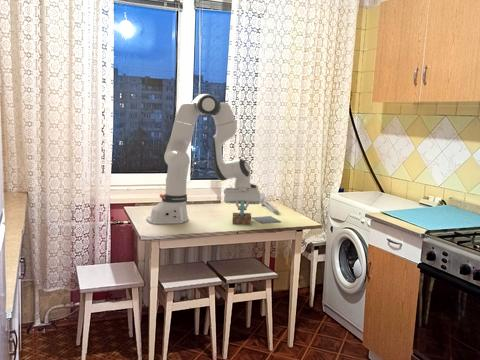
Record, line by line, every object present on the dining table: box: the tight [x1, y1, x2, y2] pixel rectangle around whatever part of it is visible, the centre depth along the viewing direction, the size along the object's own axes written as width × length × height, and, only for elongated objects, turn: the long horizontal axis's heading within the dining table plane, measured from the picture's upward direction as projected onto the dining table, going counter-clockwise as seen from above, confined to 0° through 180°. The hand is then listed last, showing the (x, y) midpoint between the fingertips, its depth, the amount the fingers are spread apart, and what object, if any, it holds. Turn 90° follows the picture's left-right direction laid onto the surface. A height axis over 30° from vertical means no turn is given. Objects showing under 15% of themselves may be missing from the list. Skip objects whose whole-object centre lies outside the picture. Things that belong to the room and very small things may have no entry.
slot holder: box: [232, 212, 252, 226], centre depth 254 cm, size 10×10×4 cm
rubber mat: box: [251, 215, 281, 225], centre depth 260 cm, size 12×12×1 cm
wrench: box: [260, 192, 280, 215], centre depth 288 cm, size 8×2×30 cm
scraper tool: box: [239, 200, 245, 216], centre depth 253 cm, size 2×3×12 cm, turn 1°
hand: (242, 209), depth 252 cm, fingers closed on scraper tool, 2 cm apart
